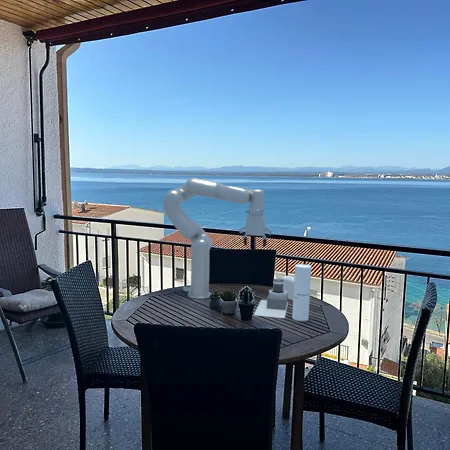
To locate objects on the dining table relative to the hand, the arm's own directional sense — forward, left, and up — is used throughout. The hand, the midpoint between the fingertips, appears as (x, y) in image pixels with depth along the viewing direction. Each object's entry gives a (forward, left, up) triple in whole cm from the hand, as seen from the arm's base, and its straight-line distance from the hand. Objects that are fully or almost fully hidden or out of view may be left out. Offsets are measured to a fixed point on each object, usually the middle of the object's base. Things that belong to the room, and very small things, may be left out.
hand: (254, 246), depth 220 cm
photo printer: (+19, +6, -28) cm, 35 cm away
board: (+12, -16, -28) cm, 35 cm away
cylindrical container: (+26, -27, -28) cm, 47 cm away
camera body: (+14, -10, -28) cm, 32 cm away
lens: (+14, -10, -22) cm, 28 cm away
